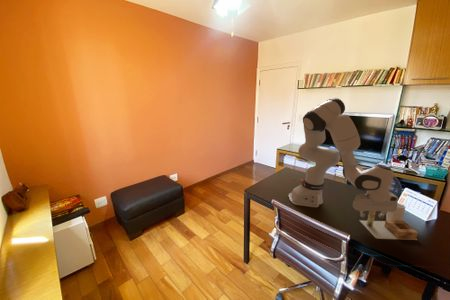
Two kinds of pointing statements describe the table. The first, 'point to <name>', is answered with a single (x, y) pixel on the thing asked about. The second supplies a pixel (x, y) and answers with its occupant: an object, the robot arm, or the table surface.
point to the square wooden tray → (401, 229)
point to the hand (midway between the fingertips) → (371, 216)
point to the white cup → (396, 213)
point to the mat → (380, 230)
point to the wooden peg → (371, 218)
